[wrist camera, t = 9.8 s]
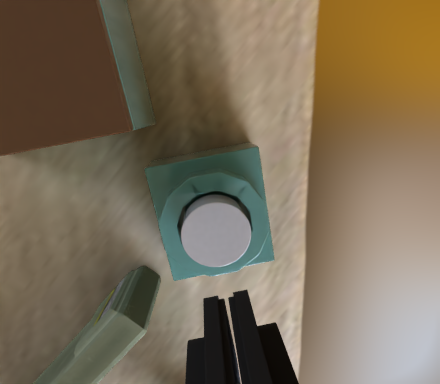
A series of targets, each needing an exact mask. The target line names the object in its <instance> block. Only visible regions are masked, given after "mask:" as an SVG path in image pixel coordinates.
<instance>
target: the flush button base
mask: <svg viewBox="0 0 440 384" xmlns="http://www.w3.org/2000/svg"><path fill="white" fill-rule="evenodd" d="M144 170H145V174H146V178H147V182H148V185H149V189H150V193H151V197H152V200H153V204H154V208H155V212H156V215H157V219H158V224H159V225H158V226H159V230H160V233H161V237H162V241H163V245H164V248H165V250H166V253H167V257H168V261H169V264H170V268H171V272H172V276H173V279H174V281H176V280H181V279H186V278H191V277H196V276H200V275H207V276H216V275H221V274H226V273H231V272H236V271H239V270H240V269H241V268H243V267H244V266H249V265H254V264H259V263H264V262H269V261H274V260H275V259H274V252H273V245H272V238H271V231H270V224H269V217H268V210H267V203H266V196H265V189H264V182H263V175H262V168H261V161H260V154H259V147H258V146H256V145H254V144H253V143H251V142H247V143H242V144H236V145H231V146H226V147H221V148H216V149H211V150H206V151H200V152H195V153H190V154H185V155H180V156H175V157H170V158H165V159H159V160H154V161H151V162H150V163H149V164H148V166H147V167H146V168H145V169H144ZM214 194H218V195H224V196H227V197H230V198H231V199H233V200H235V201H236V202H237V203H238V204H239V205H240V206H241V207H242V209H243V210H244V212H245V214H246V217H247V219H248V221H249V224H250V227H251V240H250V244H249V246H248V248H247V250H246V251H245V253H244V254H243V255H242V256H241V257H240V258H239V259H238V260H236V261H235V262H233V263H231V264H229V265H226V266H221V267H209V266H205V265H202V264H199V263H197V262H196V261H194V260H193V259H192V258H191V257H190V256H189V255H188V254H187V253H186V251H185V250H184V247H183V245H182V241H181V229H182V222H183V217H184V215H185V212H186V211H187V209H188V208H189V206H190V205H191V204H192V203H193V202H195V201H196V200H197V199H199V198H201V197H204V196H207V195H214Z"/></svg>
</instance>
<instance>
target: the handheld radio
mask: <svg viewBox="0 0 440 384" xmlns="http://www.w3.org/2000/svg"><path fill="white" fill-rule="evenodd" d="M160 282H161V280H160V276H159V275H158V274H156V273H155V272H154V271H152V270H151V269H149V268H148V267H146V266H142V267H140V268H138V269H137V270H133V271H131V272H130V273H128V274H127V275H126V276H125V277H124V278H123V280H122V281H121V282H120V283H119V284H118V285H117V286H116V287H115V288H114V289H113V291H112V292H111V293H110V294H109V295H108V296H107V297H106V298H105V299H104V300H103V302H102V303H101V304H100V305H99V307H98V309H97V310H96V312H95V314H94V316H93V317H92V319H91V320H90V321H89V322H88V323H87V325H86V326H85V327H84V328H83V329H82V330H81V331H80V332H79V333H78V334H77V336H76V337H75V338H74V339H73V340H72V341H71V342H70V343H69V344H68V345H67V346H66V348H65V349H64V350H63V351H62V352H61V353H60V354H59V355H58V356H57V357H56V359H55V360H54V361H53V362H52V363H51V364H50V365H49V366H48V367H47V368H46V370H45V371H44V372H43V373H42V374H41V375H40V376H39V377H38V378H37V379H36V380H35V382H34V383H33V384H98V383H99V381H100V380H101V379H102V378H103V377H104V376H105V375H106V374H107V373H108V372H109V371H110V370H111V369H112V368H113V367H114V366H115V365H116V364H117V363H118V362H119V361H120V360H121V359H122V358H123V356H124V355H125V354H126V353H127V352H128V351H129V350H130V349H131V348H132V347H133V346H134V345H135V344H136V343H137V342H138V341H139V340H140V339H141V338H142V337H143V336H144V335H145V334H146V332H147V328H148V325H149V321H150V318H151V314H152V311H153V307H154V304H155V300H156V297H157V293H158V290H159V286H160Z"/></svg>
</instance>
